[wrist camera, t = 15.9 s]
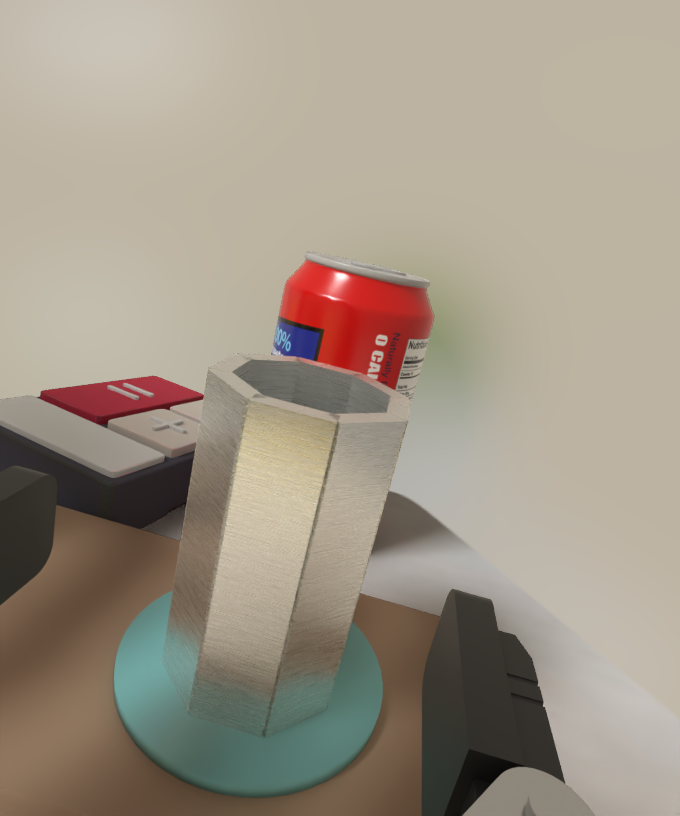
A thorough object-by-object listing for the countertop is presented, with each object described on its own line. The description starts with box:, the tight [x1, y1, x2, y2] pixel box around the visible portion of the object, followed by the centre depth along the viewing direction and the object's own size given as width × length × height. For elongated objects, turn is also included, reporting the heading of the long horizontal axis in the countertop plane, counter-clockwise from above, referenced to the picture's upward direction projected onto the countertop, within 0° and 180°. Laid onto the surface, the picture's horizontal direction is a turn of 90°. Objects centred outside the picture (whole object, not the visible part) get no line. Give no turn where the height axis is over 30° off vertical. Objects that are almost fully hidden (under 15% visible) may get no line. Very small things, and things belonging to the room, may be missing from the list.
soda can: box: [271, 252, 434, 409], centre depth 30 cm, size 8×8×15 cm
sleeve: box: [162, 353, 410, 738], centre depth 18 cm, size 6×6×10 cm
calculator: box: [0, 376, 204, 529], centre depth 34 cm, size 11×4×15 cm
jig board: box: [0, 505, 440, 816], centre depth 19 cm, size 30×12×8 cm, turn 81°
